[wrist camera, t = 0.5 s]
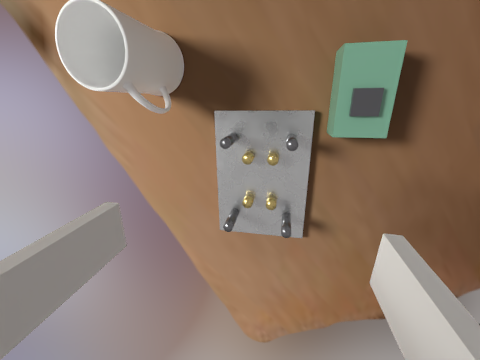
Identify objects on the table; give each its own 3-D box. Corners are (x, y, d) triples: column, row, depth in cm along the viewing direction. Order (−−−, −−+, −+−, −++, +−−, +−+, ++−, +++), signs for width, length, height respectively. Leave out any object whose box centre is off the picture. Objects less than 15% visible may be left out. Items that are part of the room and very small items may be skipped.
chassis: (216, 110, 33) (202, 112, 27) (314, 110, 30) (320, 112, 25) (221, 226, 40) (211, 247, 34) (301, 234, 37) (304, 258, 32)
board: (336, 51, 28) (346, 42, 23) (388, 49, 27) (410, 38, 22) (326, 132, 31) (333, 137, 27) (372, 132, 30) (388, 139, 25)
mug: (205, 99, 33) (164, 98, 22) (162, 124, 35) (105, 136, 24) (164, 17, 30) (93, -31, 19) (120, 52, 33) (36, 27, 22)
